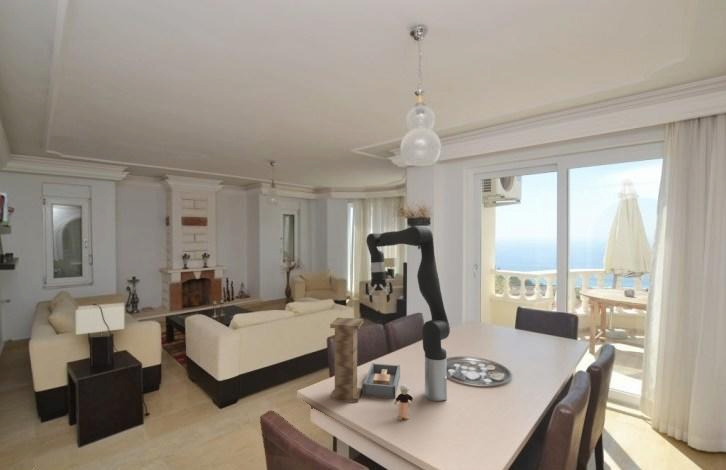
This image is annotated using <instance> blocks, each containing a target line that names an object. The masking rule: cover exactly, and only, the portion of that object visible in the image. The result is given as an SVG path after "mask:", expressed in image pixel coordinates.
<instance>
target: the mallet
mask: <svg viewBox="0 0 726 470" xmlns="http://www.w3.org/2000/svg"><path fill="white" fill-rule="evenodd" d="M373 384H381V385H390V375H388V374H387V369H382V372H381V374H375V376H374V379H373Z"/></svg>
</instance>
